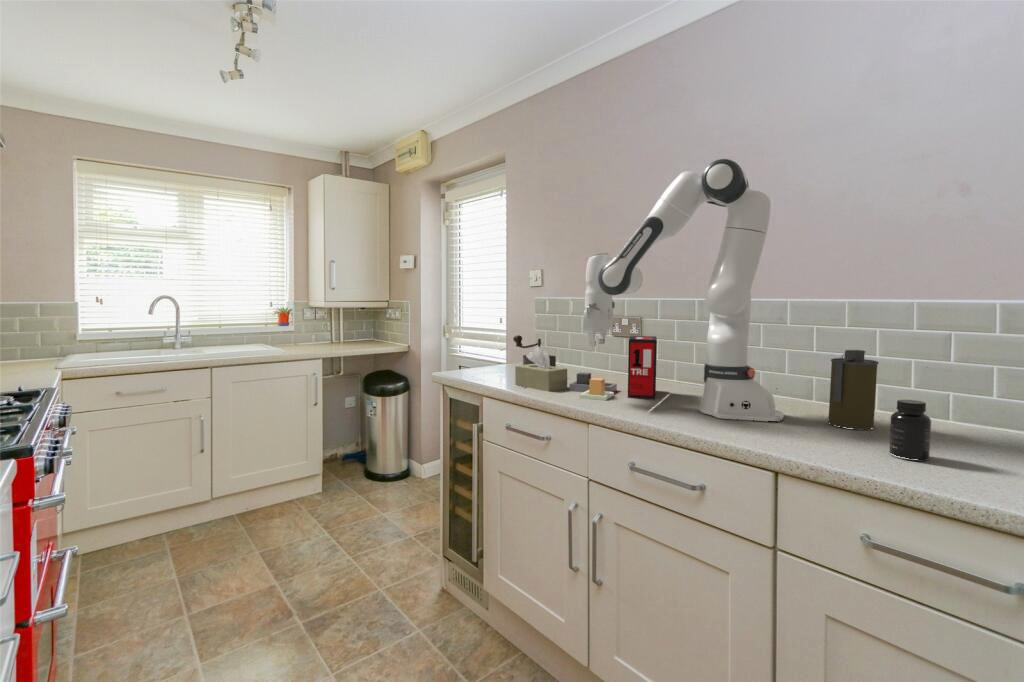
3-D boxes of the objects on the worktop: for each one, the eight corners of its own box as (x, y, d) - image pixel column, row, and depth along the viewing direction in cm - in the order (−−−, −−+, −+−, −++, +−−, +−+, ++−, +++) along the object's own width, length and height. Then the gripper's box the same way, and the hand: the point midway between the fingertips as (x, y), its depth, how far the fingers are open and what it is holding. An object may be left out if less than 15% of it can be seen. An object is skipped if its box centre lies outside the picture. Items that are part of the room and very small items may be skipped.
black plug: (590, 389, 186) (591, 373, 185) (587, 391, 182) (587, 374, 182) (580, 388, 188) (580, 372, 187) (576, 390, 184) (576, 373, 184)
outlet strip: (616, 392, 184) (616, 383, 183) (609, 395, 177) (610, 387, 176) (577, 388, 191) (577, 380, 190) (569, 392, 184) (569, 383, 183)
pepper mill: (541, 374, 225) (541, 333, 224) (556, 377, 216) (556, 335, 214) (511, 377, 217) (511, 335, 216) (525, 381, 208) (525, 336, 206)
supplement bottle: (911, 451, 113) (914, 398, 112) (937, 461, 106) (942, 404, 105) (880, 452, 112) (884, 398, 111) (905, 462, 106) (909, 405, 105)
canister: (845, 419, 143) (849, 347, 141) (884, 428, 133) (888, 351, 131) (817, 422, 139) (821, 349, 137) (855, 432, 129) (859, 353, 127)
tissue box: (514, 386, 196) (514, 345, 195) (533, 383, 202) (533, 343, 201) (549, 393, 182) (549, 349, 180) (568, 390, 188) (568, 347, 187)
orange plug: (604, 396, 173) (604, 378, 172) (600, 398, 169) (601, 380, 169) (593, 395, 175) (593, 377, 174) (589, 397, 171) (589, 379, 171)
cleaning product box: (629, 390, 187) (630, 335, 185) (654, 391, 184) (656, 336, 182) (627, 399, 171) (628, 339, 169) (655, 400, 168) (656, 340, 167)
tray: (613, 397, 174) (614, 392, 174) (605, 402, 166) (605, 396, 166) (588, 394, 178) (588, 389, 178) (579, 399, 170) (579, 394, 170)
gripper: (597, 304, 159) (596, 348, 160) (616, 303, 177) (615, 343, 178) (578, 303, 162) (577, 347, 163) (598, 303, 180) (597, 342, 181)
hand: (597, 345), depth 171 cm, fingers open, 8 cm apart
